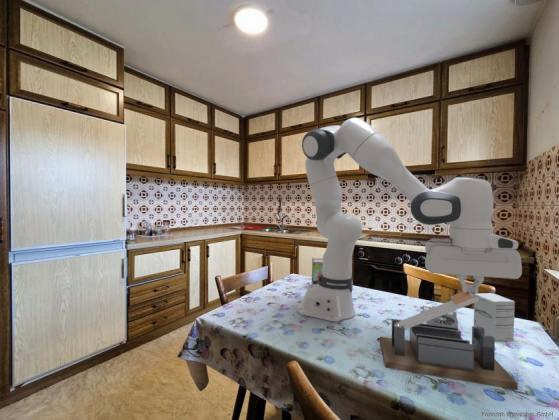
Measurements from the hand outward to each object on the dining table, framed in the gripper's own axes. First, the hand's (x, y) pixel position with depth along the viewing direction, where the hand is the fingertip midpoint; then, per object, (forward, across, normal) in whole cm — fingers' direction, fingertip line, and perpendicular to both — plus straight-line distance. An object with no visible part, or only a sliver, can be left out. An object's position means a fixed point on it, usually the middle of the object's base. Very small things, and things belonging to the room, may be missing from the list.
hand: (469, 292), depth 65 cm
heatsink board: (+20, -7, 0) cm, 21 cm away
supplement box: (+20, +15, +21) cm, 33 cm away
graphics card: (+20, 0, +25) cm, 32 cm away
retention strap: (+7, -8, 0) cm, 11 cm away
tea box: (+20, -41, +52) cm, 69 cm away
